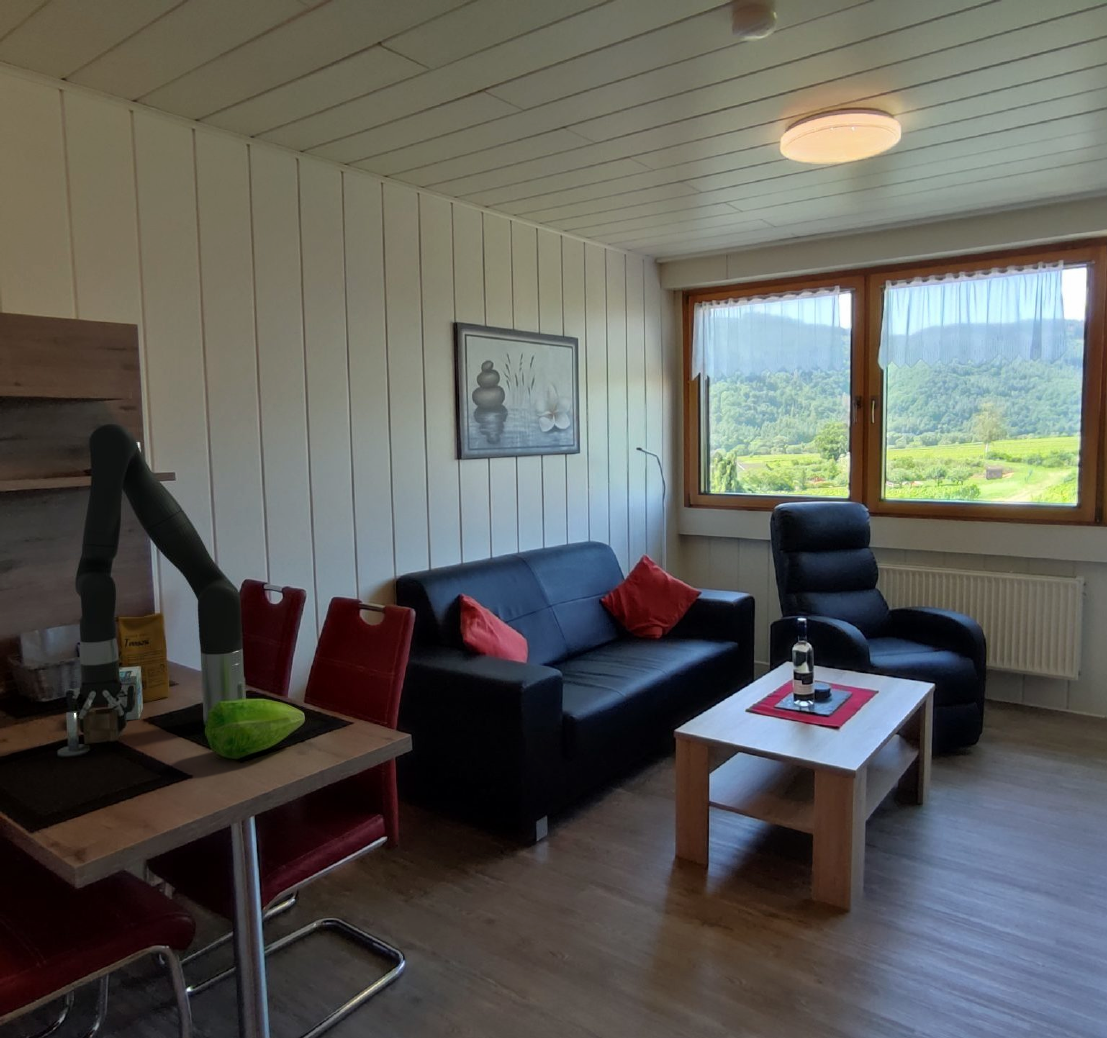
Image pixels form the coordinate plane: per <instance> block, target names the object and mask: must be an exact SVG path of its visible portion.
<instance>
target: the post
mask: <svg viewBox="0 0 1107 1038" xmlns="http://www.w3.org/2000/svg"><path fill="white" fill-rule="evenodd" d="M65 719H66V735H67V746H63V747H62V748H60V749H58V750H57V756H58V757H61V758H73V757H78V756H82V755H85V754H86V753H88V752H89V751H90V750H91V746H90V745H88V744H84V743H83V744H82V743H81V744H80V743H79V742H80V741H79V727H78V726H79V723H78V722H79V721H78V718H77V711H71V712H69V711H67V712H66V713H65Z"/></svg>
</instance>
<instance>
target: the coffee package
mask: <svg viewBox="0 0 1107 1038" xmlns="http://www.w3.org/2000/svg"><path fill="white" fill-rule="evenodd" d="M164 623H165V618H164V614H163V612H157V613H154V614H149V615H144V616H141V617H140V616H139V617H137V616H136V617H135V616H134V617H131V616H129V617H128V616H125V617H121V616H118V630H117V637H116V640H117V645H118V656H119V668H125V667H136V666H140V667H141V681H142V700H143V703H145V702H146V703H147V702H149V703H150V702H154V701H157V700H162V699H164V698H168V697H169V695H170V678H169V669H168V658H167V657H168V656H167V651H168V650H167V641H166V634H165V628H164V627H165V624H164Z"/></svg>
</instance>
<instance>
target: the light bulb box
mask: <svg viewBox="0 0 1107 1038" xmlns="http://www.w3.org/2000/svg"><path fill="white" fill-rule="evenodd" d="M119 674H120V681H121V683H122V685H131V684H132V683H135V684H136V694H135V707H134V709H133V710H132V711H131V712H128V713H126V721H132V720H139V719H140V717H141V714H142V711H143V709H144V705H143V703H144V702H143V700H142V681H141V667H140V666H136V667H125V668H119ZM118 696H119V698H120V699H121V701H122V704H123V705H124V706H125V707H126V706H127V695H126V694H125V693H124V690H121V691H120V692H119V694H118ZM107 707H112V706H111V705H110V703H109V704H107Z"/></svg>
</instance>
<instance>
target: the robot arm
mask: <svg viewBox="0 0 1107 1038" xmlns="http://www.w3.org/2000/svg"><path fill="white" fill-rule="evenodd" d="M88 449H89V450H88V451H89V457H90V488H89V489H90V490H89V491H90V492H89V498H88V504H87V509H86V516H85V522H84V529H83V536H82V544H81V555H80V559H79V561H78V567H77V570H76V575H75V581H74V582H75V583H74V584H75V591H76V593H77V594H78V596H79V597H80V605H81V617H80V619H79V641H80V642H79V643H80V646H79V662H80V663H79V664H80V679H81V684H80V687H79V688H74V687H71V688H69V689H67V691H66V692H65V697H66V705H67V709H68V712H71V711H77V719H79V726H80V727H79V728H80V729H79V731H80V732H81V734H82V733H83V734H84V727H83V717H84V715H85V714H87V712H89V710H90V709H92V706H98V705H108V704H109V703H110V705H111V706H112V707H113V708H114V709H115V710H116V712H117V713H118V731H119V732H122V731H123V732H124V730H125V729H126V727H127V720H126V713H128V712H131V711H132V710H133V709H134V707H135V694H136V684H135V683H132V684H131V685H122V683H121V681H120V674H119V656H118V645H117V630H116V629H117V628H116V619H115V613H116V603H117V602H116V601H117V588H116V583H115V579H113V576H111V575H112V569H113V562H114V559H115V558H116V556H117V553H118V550H119V543H120V534H121V524H122V521H121V520H122V497H123V493H124V494H125V496H126V498H127V500H128V503H129V504H130V506H131V509H132V510H133V513H134V515H135V516H136V518H137V520H138V521H139V524H140V525H141V526H142V528H143V530H144V531H145V532H146V534H147V536H148V538H149V539H150V540H151V542H152V543H153V544H154V546H155V547H156V548H157V549H158V550H159V551H160V553H161V554H162V555H163V556H164V557H165V558H166V559H167V560H168V561H169V562H170V563H171V564H172V565H173V566H174V567H175V568H176V569H177V570H178V571H179V572H180V573H181V574H182V575H183V578H185V580H186V581H187V583H188V585H189V587H190V588H191V589H192V592H193V593H194V595H195V598H196V599H197V618H198V622H197V623H198V638H199V647H200V668H201V669H200V670H201V688H202V689H201V691H202V709H203V710H202V711H203V714H202V716H203V725H204V726H206V722H207V717H208V712H209V711H210V710H211V709H212V708H213V707H214V706H215V705H216V704H217V703H218V702H220V701H232V700H237V699H247V696H246V695H247V693H246V677H245V676H244V675H245V673H244V671H245V670H244V653H243V652H244V650H243V649H244V648H243V626H242V624H243V623H242V607H241V606H242V604H241V601H242V600H241V594H240V592H239V590H238V588H237V587H236V586H235V585H234V584H233V582H231V581H230V580H229V578H228V577H227V576H226V575H225V573H224V572H223V570H221V569H220V568H219V566H218V565H217V564H216V562H215V560H213V558H212V557H211V555H210V553H209V551H208V549H207V547H206V545H205V543H204V542H203V540H202V538H201V536H200V534H199V533H198V531H197V530H196V528H195V526H194V525H193V523H192V521H191V520H190V518H189V516H188V515H187V514H186V512H185V511H184V510H183V508H182V506H181V505H180V504H179V503H178V501H177V500H176V499H175V498H174V496H173V495H172V493H170V491H169V490H168V489H167V488H166V487H165V486H164V485H163V484H162V482H161V481H160V480H159V479H158V477H156V476H155V474H154V473H153V472H152V470H151V468H150V467H149V465H148V464H147V461H146V459H145V458H144V456H143V454H142V452H141V450H140V448H139V446H138V443H137V440H136V439H135V437H134V435H133V434H132V433H131V431H129V430H128V429H127V428H125V427H124V426H122V425H119V424H115V423H106V424H103V425H101V426H99V427H96V428H95V429H94V430H93V431H92V432H91V434H90V436H89V439H88ZM121 690H124V693H125V694H126V695H127V706H126V707H125V706H124V705H123V704H122V701H121V699H120V698H119V696H118V694H119V692H120V691H121ZM80 694H81V696H82V697H83V698H84V699H85V700H86V701H84V702H85V703H84V704H83V706H82V708H81V709H79V705H78V700H77V698H79V695H80Z"/></svg>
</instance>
